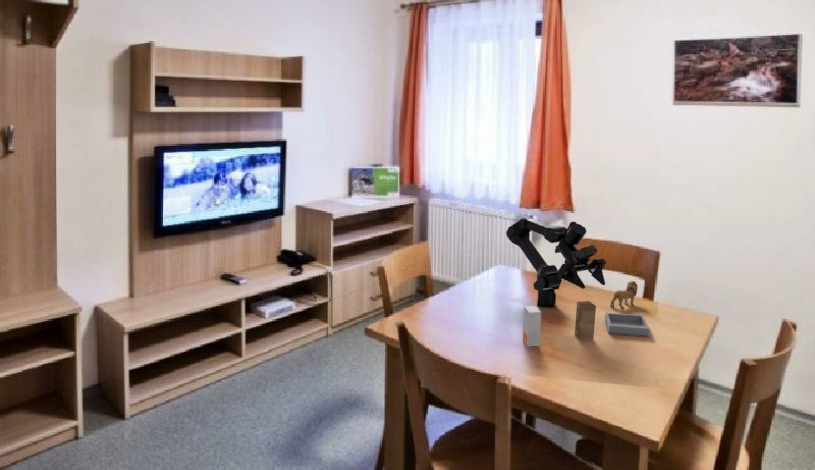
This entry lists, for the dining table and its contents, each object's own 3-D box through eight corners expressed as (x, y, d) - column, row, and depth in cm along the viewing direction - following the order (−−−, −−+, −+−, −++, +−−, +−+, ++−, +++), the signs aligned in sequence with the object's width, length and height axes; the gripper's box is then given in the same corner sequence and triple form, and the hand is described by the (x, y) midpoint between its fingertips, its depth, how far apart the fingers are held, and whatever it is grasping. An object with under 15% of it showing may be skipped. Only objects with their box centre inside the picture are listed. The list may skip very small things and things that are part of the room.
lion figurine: (627, 300, 246) (629, 278, 244) (639, 303, 242) (641, 281, 240) (606, 308, 237) (608, 285, 235) (619, 311, 233) (621, 289, 231)
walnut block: (574, 335, 211) (576, 301, 208) (586, 334, 212) (589, 301, 209) (581, 340, 206) (583, 306, 203) (593, 339, 207) (596, 305, 204)
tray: (608, 333, 212) (609, 325, 211) (604, 320, 224) (605, 312, 224) (648, 337, 209) (649, 328, 209) (642, 323, 222) (643, 315, 221)
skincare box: (522, 339, 207) (523, 305, 204) (534, 339, 207) (536, 305, 204) (527, 347, 201) (528, 312, 198) (539, 346, 201) (541, 312, 198)
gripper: (560, 241, 215) (584, 274, 206) (600, 235, 223) (625, 267, 214) (547, 262, 223) (569, 295, 213) (586, 256, 231) (610, 288, 221)
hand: (594, 286), depth 215 cm, fingers open, 9 cm apart
